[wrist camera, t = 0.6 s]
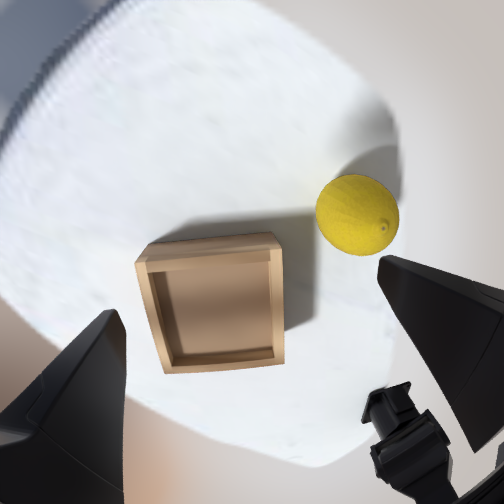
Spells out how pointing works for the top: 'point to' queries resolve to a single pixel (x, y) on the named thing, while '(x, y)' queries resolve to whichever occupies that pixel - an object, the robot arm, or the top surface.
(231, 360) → the tan open box
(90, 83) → the top surface
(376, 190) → the lemon
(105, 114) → the top surface
